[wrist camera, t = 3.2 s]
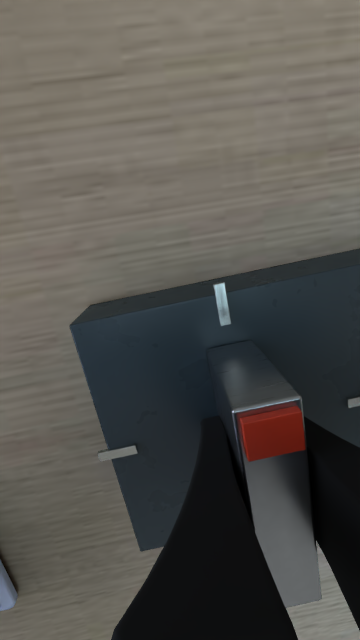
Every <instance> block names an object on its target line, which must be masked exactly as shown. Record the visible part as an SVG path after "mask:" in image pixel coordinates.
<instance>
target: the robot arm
mask: <svg viewBox="0 0 360 640" xmlns="http://www.w3.org/2000/svg"><path fill="white" fill-rule="evenodd" d="M200 425H201V434H200V443H199V449H198V454H197V459H196V464H195V468H194V471H193V475H192V478H191V482H190V485H189V488H188V491H187V494H186V497H185V500H184V503H183V505H182V508H181V511H180V513H179V515H178V518H177V520H176V522H175V524H174V527H173V529H172V531H171V534H170V536H169V538H168V540H167V542H166V544H165V546H164V548H163V550H162V551H161V553H160V555H159V557H158V559H157V561H156V563H155V564H154V566H153V568H152V570H151V572H150V574H149V575H148V577H147V579H146V581H145V582H144V584H143V586H142V587H141V589H140V590H139V592H138V594H137V595H136V597H135V598H134V600H133V601H132V603H131V604H130V606H129V608H128V609H127V611H126V612H125V614H124V615H123V617H122V618H121V620H120V621H119V623H118V624H117V626H116V628H115V629H114V632H113V635H112V639H111V640H298V638H297V635H296V632H295V629H294V627H293V624H292V622H291V620H290V617H289V615H288V613H287V610H286V608H285V606H284V603H283V601H282V598H281V596H280V594H279V591H278V589H277V586H276V584H275V581H274V579H273V577H272V574H271V572H270V569H269V567H268V564H267V562H266V559H265V557H264V554H263V552H262V549H261V546H260V544H259V541H258V539H257V536H256V533H255V531H254V528H253V526H252V523H251V520H250V517H249V515H248V512H247V509H246V507H245V504H244V501H243V498H242V495H241V493H240V490H239V487H238V484H237V481H236V478H235V474H234V470H233V466H232V461H231V456H230V451H229V446H228V441H227V436H226V431H225V427H224V425H223V422H222V420H221V418H220V416H219V415H218V416H214V417H209V418H204V419H202V421H201V422H200ZM304 426H305V436H306V446H307V456H308V466H309V476H310V487H311V497H312V507H313V517H314V527H315V537H316V541H317V542H318V544H319V546H320V548H321V550H322V551H323V553H324V555H325V557H326V559H327V561H328V563H329V565H330V567H331V569H332V571H333V573H334V576H335V578H336V580H337V582H338V584H339V586H340V588H341V591H342V593H343V595H344V597H345V599H346V601H347V604H348V606H349V608H350V610H351V612H352V615H353V617H354V619H355V621H356V624H357V626H358V628H359V630H360V448H359V447H357V446H355V445H354V444H352V443H350V442H348V441H346V440H344V439H342V438H340V437H338V436H337V435H335V434H333V433H331V432H330V431H328V430H326V429H324V428H323V427H321V426H319V425H318V424H316V423H314V422H313V421H311V420H310V419H308V418H306V417H305V416H304ZM17 597H18V595H17V592H16V590H15V588H14V586H13V584H12V582H11V580H10V578H9V576H8V574H7V572H6V570H5V568H4V566H3V564H2V562H1V560H0V611H3V610H7V609H10V608H12V607H13V606H14V605H15V603H16V600H17Z"/></svg>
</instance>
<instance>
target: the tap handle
mask: <svg viewBox="0 0 360 640" xmlns="http://www.w3.org/2000/svg"><path fill="white" fill-rule="evenodd" d="M206 353H207V358H208V364H209V369H210V374H211V380H212V385H213V390H214V395H215V401H216V406H217V411H218V415H219V416H220V418H221V420H222V422H223V425H224V427H225V431H226V436H227V441H228V446H229V451H230V456H231V461H232V466H233V470H234V474H235V478H236V481H237V484H238V487H239V490H240V493H241V495H242V498H243V501H244V504H245V507H246V509H247V512H248V515H249V517H250V520H251V523H252V526H253V528H254V531H255V533H256V536H257V539H258V541H259V544H260V546H261V549H262V552H263V554H264V557H265V559H266V562H267V564H268V567H269V569H270V572H271V574H272V577H273V579H274V581H275V584H276V586H277V589H278V591H279V594H280V596H281V598H282V601H283V603H284V606H285V608H287V607H292V606H296V605H301V604H305V603H310V602H314V601H319V600H320V599H321V588H320V578H319V568H318V558H317V547H316V537H315V527H314V517H313V507H312V497H311V487H310V476H309V466H308V456H307V446H306V436H305V426H304V415H303V405H302V397H301V395H300V394H299V393H298V392H297V391H296V389H295V388H294V387H293V386H292V385H291V384H290V383H289V382H288V381H287V379H286V378H285V377H284V376H283V375H282V374H281V373H280V372H279V370H278V369H277V368H276V367H275V366H274V365H273V364H272V363H271V362H270V360H269V359H268V358H267V357H266V356H265V355H264V354H263V353H262V351H261V350H260V349H259V348H258V347H257V346H256V345H255V344H254V343H253V341H251V340H249V341H244V342H239V343H235V344H230V345H225V346H220V347H216V348H211V349H208V350H207V351H206Z"/></svg>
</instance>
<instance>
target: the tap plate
mask: <svg viewBox="0 0 360 640" xmlns="http://www.w3.org/2000/svg"><path fill="white" fill-rule="evenodd" d="M70 329H71V333H72V336H73V339H74V342H75V345H76V348H77V352H78V355H79V358H80V361H81V364H82V367H83V371H84V374H85V377H86V380H87V383H88V386H89V390H90V393H91V396H92V399H93V402H94V405H95V409H96V412H97V415H98V418H99V421H100V424H101V428H102V431H103V434H104V437H105V440H106V443H107V447H108V449H105V450H101V451H98V457H99V460H100V462H101V461H106V460H110V459H112V462H113V466H114V469H115V472H116V475H117V478H118V481H119V485H120V488H121V491H122V494H123V497H124V500H125V504H126V507H127V510H128V513H129V516H130V519H131V523H132V526H133V529H134V532H135V535H136V538H137V542H138V545H139V548H140V551H145V550H150V549H155V548H159V547H164V546H165V544H166V542H167V540H168V538H169V536H170V534H171V531H172V529H173V527H174V524H175V522H176V520H177V518H178V515H179V513H180V511H181V508H182V505H183V503H184V500H185V497H186V494H187V491H188V488H189V485H190V482H191V478H192V475H193V471H194V468H195V464H196V459H197V454H198V449H199V443H200V434H201V425H200V422H201V421H202V419H204V418H209V417H214V416H218V411H217V406H216V401H215V395H214V390H213V385H212V380H211V374H210V369H209V364H208V358H207V353H206V351H207V350H208V349H211V348H216V347H220V346H225V345H230V344H235V343H239V342H244V341H249V340H251V341H253V343H254V344H255V345H256V346H257V347H258V348H259V349H260V350H261V351H262V353H263V354H264V355H265V356H266V357H267V358H268V359H269V360H270V362H271V363H272V364H273V365H274V366H275V367H276V368H277V369H278V370H279V372H280V373H281V374H282V375H283V376H284V377H285V378H286V379H287V381H288V382H289V383H290V384H291V385H292V386H293V387H294V388H295V389H296V391H297V392H298V393H299V394H300V395H301V397H302V405H303V415H304V416H305V417H306V418H308V419H310V420H311V421H313V422H314V423H316V424H318V425H319V426H321V427H323V428H324V429H326V430H328V431H330V432H331V433H333V434H335V435H337V436H338V437H340V438H342V439H344V440H346V441H348V442H350V443H352V444H354V445H355V446H357V447H359V448H360V249H356V250H351V251H346V252H342V253H337V254H332V255H327V256H322V257H318V258H313V259H308V260H303V261H299V262H294V263H289V264H284V265H280V266H275V267H270V268H265V269H260V270H256V271H251V272H246V273H241V274H237V275H232V276H227V277H222V278H218V279H213V280H208V281H203V282H198V283H194V284H189V285H184V286H179V287H175V288H170V289H165V290H160V291H156V292H151V293H146V294H141V295H136V296H132V297H127V298H122V299H117V300H113V301H108V302H103V303H98V304H94V305H90V306H89V307H88V308H87V309H86V310H85V311H84V312H83V313H82V314H81V315H80V316H79V317H78V318H77V319H76V320H75V321H74V322H72V323H71V324H70Z"/></svg>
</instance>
